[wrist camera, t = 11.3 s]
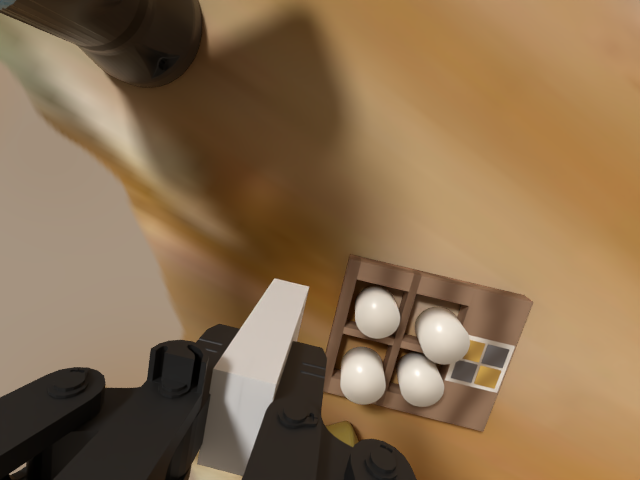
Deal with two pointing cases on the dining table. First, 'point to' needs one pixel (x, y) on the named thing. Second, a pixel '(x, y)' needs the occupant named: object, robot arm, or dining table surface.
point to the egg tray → (459, 378)
